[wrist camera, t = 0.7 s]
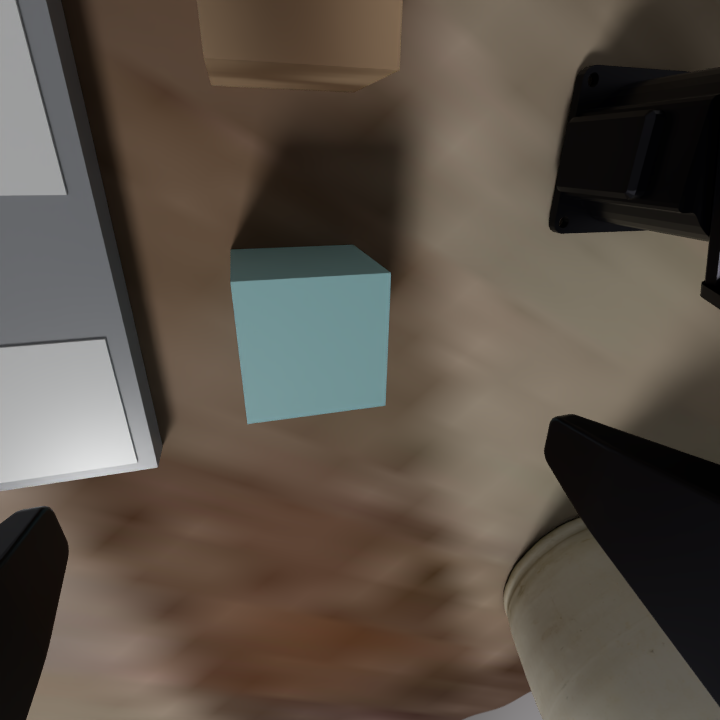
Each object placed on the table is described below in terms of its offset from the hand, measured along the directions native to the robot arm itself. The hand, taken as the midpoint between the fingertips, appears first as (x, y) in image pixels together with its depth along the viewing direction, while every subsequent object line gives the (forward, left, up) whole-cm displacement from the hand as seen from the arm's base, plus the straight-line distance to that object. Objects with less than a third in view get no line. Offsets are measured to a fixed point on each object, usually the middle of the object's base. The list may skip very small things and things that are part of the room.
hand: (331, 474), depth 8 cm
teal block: (-1, +1, -12) cm, 12 cm away
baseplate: (+9, -2, -12) cm, 15 cm away
